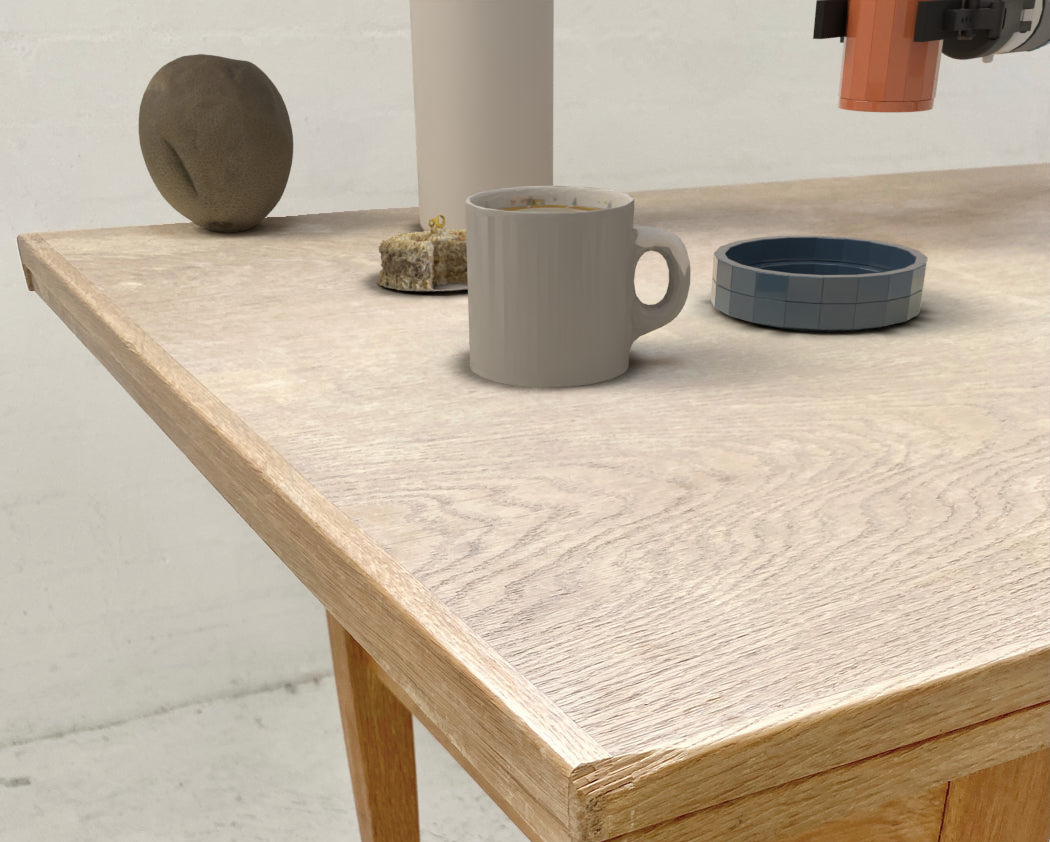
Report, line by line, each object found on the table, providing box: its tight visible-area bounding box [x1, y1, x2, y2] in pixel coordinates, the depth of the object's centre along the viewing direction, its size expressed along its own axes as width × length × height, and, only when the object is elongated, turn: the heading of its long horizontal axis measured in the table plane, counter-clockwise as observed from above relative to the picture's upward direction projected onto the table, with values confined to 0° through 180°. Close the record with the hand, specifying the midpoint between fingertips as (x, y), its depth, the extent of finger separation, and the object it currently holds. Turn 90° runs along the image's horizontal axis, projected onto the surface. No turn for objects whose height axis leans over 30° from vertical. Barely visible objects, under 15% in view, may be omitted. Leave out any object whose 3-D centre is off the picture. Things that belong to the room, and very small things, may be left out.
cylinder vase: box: [408, 0, 555, 231], centre depth 115 cm, size 12×12×25 cm
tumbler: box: [837, 0, 943, 113], centre depth 103 cm, size 8×8×10 cm
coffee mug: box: [466, 185, 691, 388], centre depth 78 cm, size 13×10×10 cm
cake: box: [376, 215, 468, 293], centre depth 100 cm, size 10×10×5 cm
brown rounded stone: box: [138, 53, 294, 233], centre depth 119 cm, size 14×14×15 cm
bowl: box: [710, 234, 929, 332], centre depth 92 cm, size 15×15×4 cm
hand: (868, 20), depth 99 cm, fingers closed on tumbler, 8 cm apart
